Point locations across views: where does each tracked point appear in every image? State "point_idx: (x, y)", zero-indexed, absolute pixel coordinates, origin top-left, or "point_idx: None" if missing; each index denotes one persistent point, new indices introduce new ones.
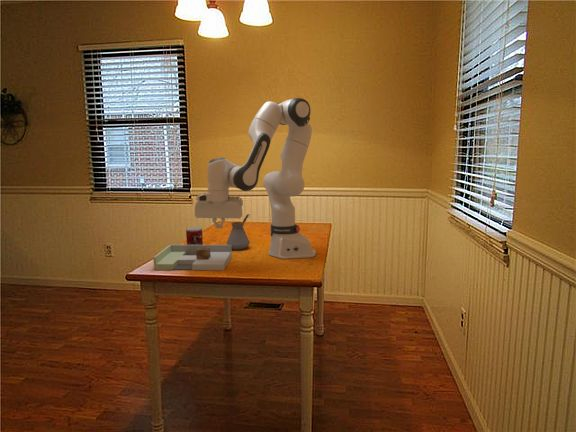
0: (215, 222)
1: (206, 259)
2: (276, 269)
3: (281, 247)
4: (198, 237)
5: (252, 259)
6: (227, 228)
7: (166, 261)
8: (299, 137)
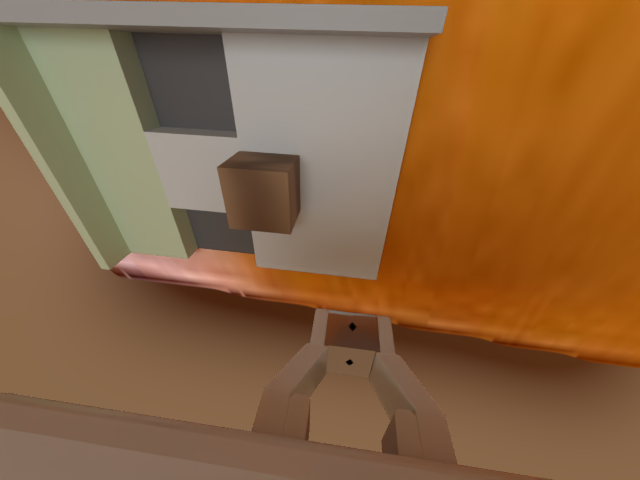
0: (310, 395)
1: None
2: (593, 277)
3: None
4: None
5: (550, 112)
6: None
7: (142, 225)
8: None
